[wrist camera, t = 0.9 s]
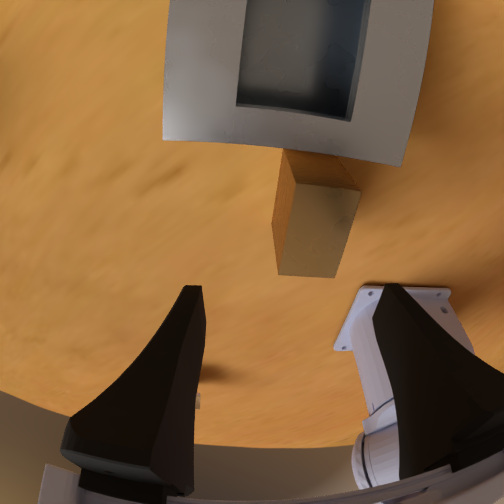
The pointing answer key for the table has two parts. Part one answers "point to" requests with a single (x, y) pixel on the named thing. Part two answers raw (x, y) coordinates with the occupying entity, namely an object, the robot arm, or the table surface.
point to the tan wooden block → (312, 213)
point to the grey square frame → (297, 74)
